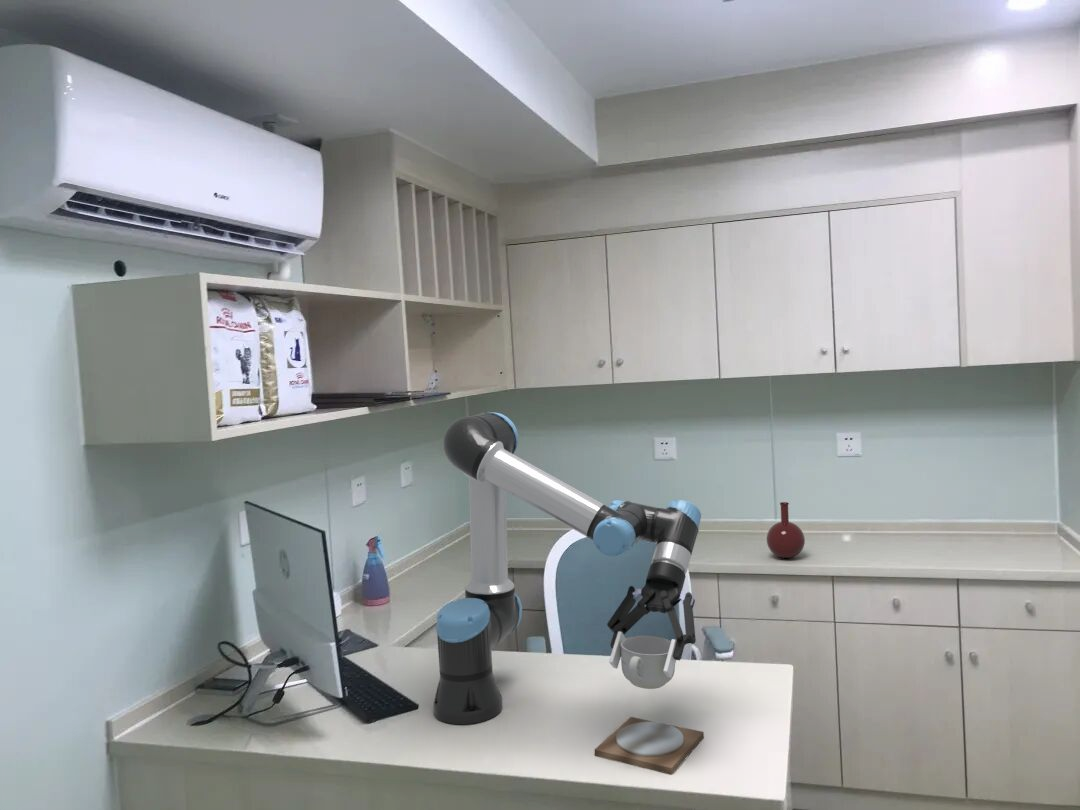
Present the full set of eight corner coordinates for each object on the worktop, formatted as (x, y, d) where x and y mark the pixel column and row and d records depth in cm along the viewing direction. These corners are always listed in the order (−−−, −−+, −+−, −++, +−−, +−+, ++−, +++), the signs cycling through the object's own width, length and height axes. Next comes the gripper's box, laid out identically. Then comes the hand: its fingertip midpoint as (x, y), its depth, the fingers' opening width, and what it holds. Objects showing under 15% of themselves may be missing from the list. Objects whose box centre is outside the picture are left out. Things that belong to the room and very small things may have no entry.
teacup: (640, 668, 171) (639, 630, 170) (687, 679, 164) (686, 639, 163) (602, 692, 160) (600, 651, 159) (651, 705, 153) (649, 662, 153)
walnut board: (594, 755, 160) (594, 745, 160) (631, 722, 173) (630, 712, 173) (671, 774, 151) (671, 763, 151) (703, 737, 165) (703, 728, 165)
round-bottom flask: (778, 552, 308) (776, 498, 306) (811, 556, 298) (810, 501, 297) (760, 559, 298) (758, 504, 297) (794, 564, 289) (792, 507, 288)
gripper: (727, 584, 168) (703, 688, 155) (624, 573, 180) (593, 669, 168) (717, 564, 163) (691, 670, 151) (611, 555, 175) (579, 652, 163)
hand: (639, 669), depth 159 cm, fingers closed on teacup, 11 cm apart
